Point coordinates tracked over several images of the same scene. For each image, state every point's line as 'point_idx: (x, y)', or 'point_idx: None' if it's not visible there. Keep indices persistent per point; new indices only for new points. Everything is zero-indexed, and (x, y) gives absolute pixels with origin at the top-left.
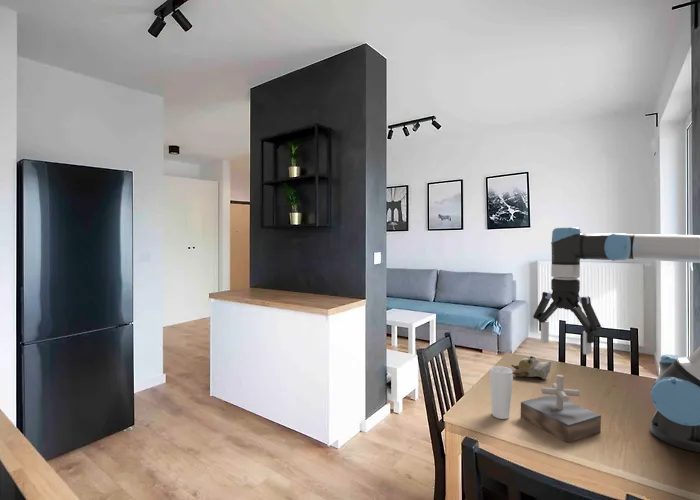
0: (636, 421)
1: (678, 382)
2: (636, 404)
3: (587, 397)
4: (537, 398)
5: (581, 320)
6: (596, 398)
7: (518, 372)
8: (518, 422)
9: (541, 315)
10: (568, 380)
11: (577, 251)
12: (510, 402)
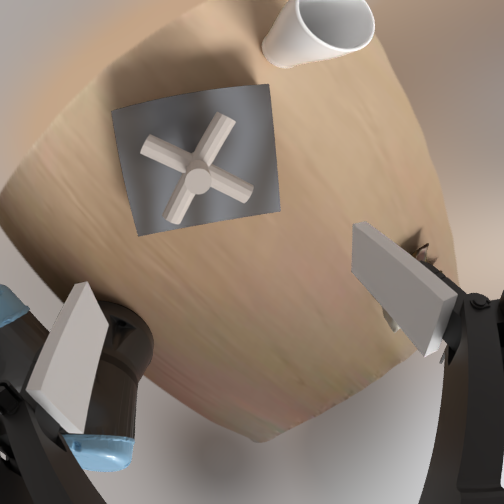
0: (173, 321)
1: None
2: (231, 367)
3: (286, 317)
4: (272, 148)
5: (38, 478)
6: (275, 328)
7: (419, 260)
8: (239, 65)
9: (497, 338)
10: (354, 334)
11: None
12: (275, 54)
